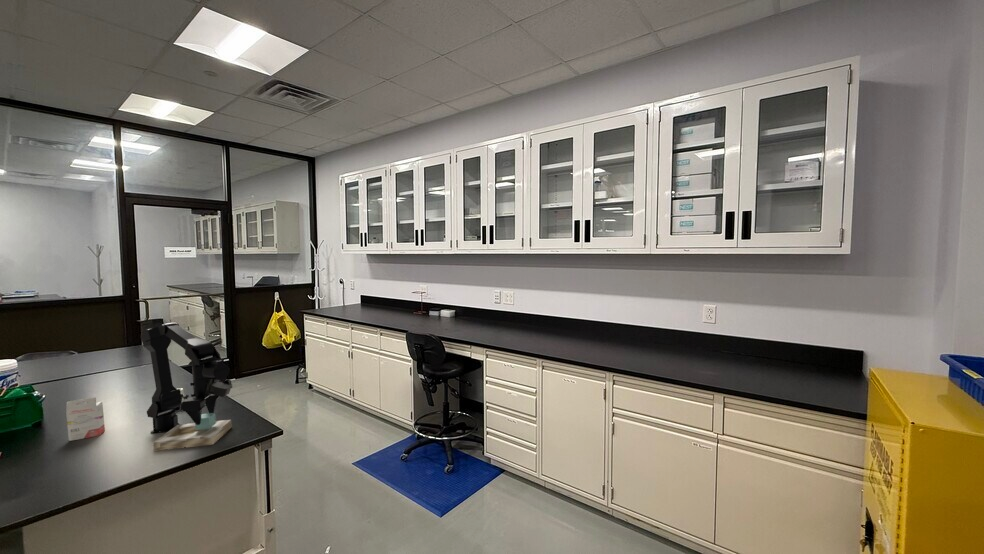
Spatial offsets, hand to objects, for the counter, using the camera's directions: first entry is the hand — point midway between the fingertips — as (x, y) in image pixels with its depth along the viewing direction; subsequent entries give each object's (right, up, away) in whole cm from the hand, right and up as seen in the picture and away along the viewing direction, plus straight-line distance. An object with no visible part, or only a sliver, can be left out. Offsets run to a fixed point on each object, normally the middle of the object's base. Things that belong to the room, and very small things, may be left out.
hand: (205, 419), depth 139 cm
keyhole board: (-3, -7, 0) cm, 8 cm away
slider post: (0, -6, 0) cm, 6 cm away
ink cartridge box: (-47, -8, +4) cm, 48 cm away
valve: (-36, -6, +32) cm, 49 cm away
